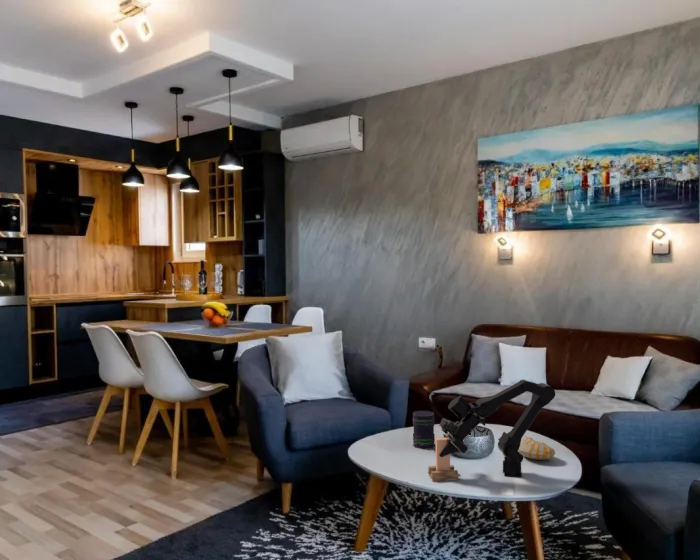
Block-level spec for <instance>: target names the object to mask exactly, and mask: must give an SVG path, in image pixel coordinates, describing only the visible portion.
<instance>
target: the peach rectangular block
mask: <svg viewBox="0 0 700 560" xmlns="http://www.w3.org/2000/svg"><path fill="white" fill-rule="evenodd" d="M434 438H435V441H434V442H435V466H436V471H447V470H450V465H451V454H449V455H446V456H443V457H440V456H439V455H440V453H441V452H442V450H443V449H444V448H445V446H446V445H447V438H444V437H434ZM448 439H449V438H448ZM449 440H450V439H449Z"/></svg>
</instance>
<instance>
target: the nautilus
mask: <svg viewBox="0 0 700 560" xmlns="http://www.w3.org/2000/svg"><path fill="white" fill-rule="evenodd" d="M524 436H525V438H522V439H521V444H520V447H519V450H518V452H520V453H521V454H522V455H523V456H524V458H528V459H530V458H531V460H533V461H534V460H535V461H537V460H538V461H539V460H541V461H542V460H547V459H552V458H553V457H554V456H555V455H556V451H555V449H554V448H552V446H549V445H548V444H546V443H544V442H543V441H539V440H537V441H536V440H534V439H533V438H532V437H527V436H526V435H524Z"/></svg>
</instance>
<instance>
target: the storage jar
mask: <svg viewBox="0 0 700 560" xmlns="http://www.w3.org/2000/svg"><path fill="white" fill-rule="evenodd" d="M412 426H413V433H412V441H413V444H412V445H413V447H414V448H416V449H421V450H430V449H433V448H435V442H436V441H435V438H436V437H435V433H434V432H435V430H434V429H435V428H434V427H435V413H434V412H433V411H430V410H416V411H413V412H412Z"/></svg>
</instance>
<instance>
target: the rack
mask: <svg viewBox="0 0 700 560" xmlns="http://www.w3.org/2000/svg"><path fill="white" fill-rule="evenodd" d="M427 474H429V475H428V476H429V478H430V480H431V479H432V480H431V481H432V482H447V481H446V480H455V481H459V471H458V470H457V469H455V466H454V465H453V464H450V470H447V471H436V465H428V467H427Z"/></svg>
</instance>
